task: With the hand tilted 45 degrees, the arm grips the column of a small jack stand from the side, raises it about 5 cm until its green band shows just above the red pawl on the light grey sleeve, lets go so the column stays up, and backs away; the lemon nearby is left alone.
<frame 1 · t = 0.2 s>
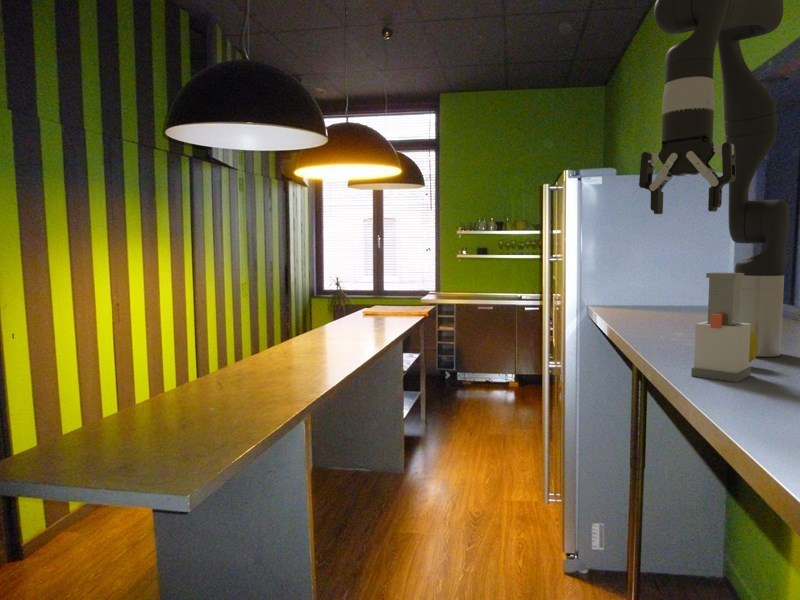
hand: (684, 212, 98), 29 cm above the worktop, tool pointing down, fingers open, 8 cm apart
column: (723, 319, 108), point 10 cm above the worktop, slide at 0.0 cm
lemon: (740, 367, 117), on the worktop
stand: (721, 375, 109), on the worktop
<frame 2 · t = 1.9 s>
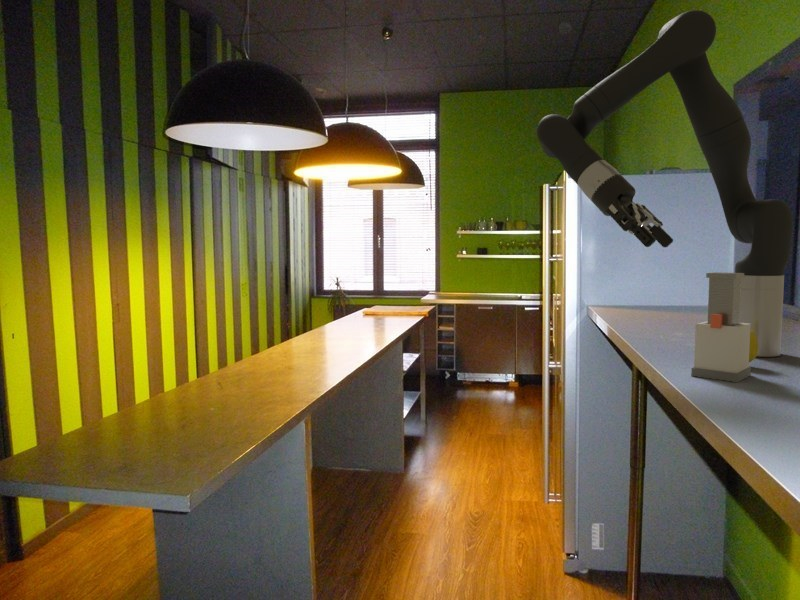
hand: (660, 244, 115), 24 cm above the worktop, tool tilted 45°, fingers open, 8 cm apart
nothing on the worktop moved.
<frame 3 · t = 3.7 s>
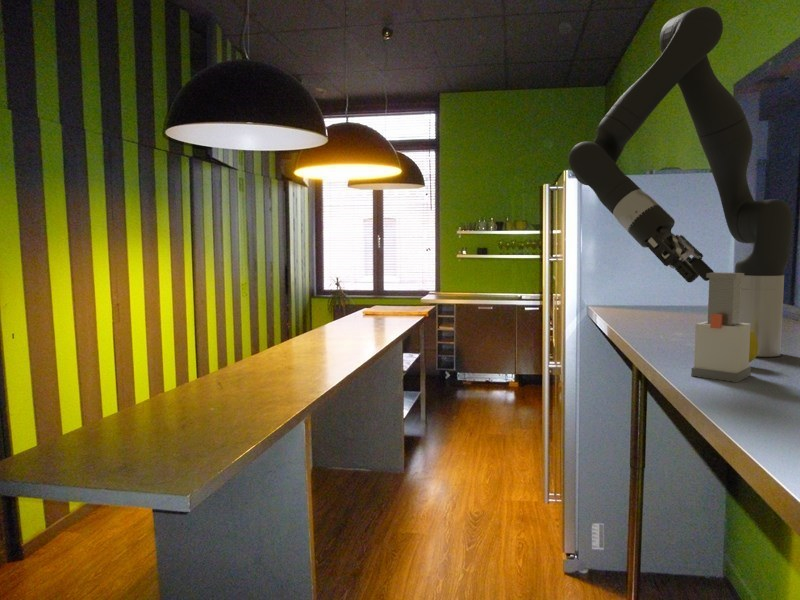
hand: (703, 278, 110), 17 cm above the worktop, tool tilted 45°, fingers open, 8 cm apart
nothing on the worktop moved.
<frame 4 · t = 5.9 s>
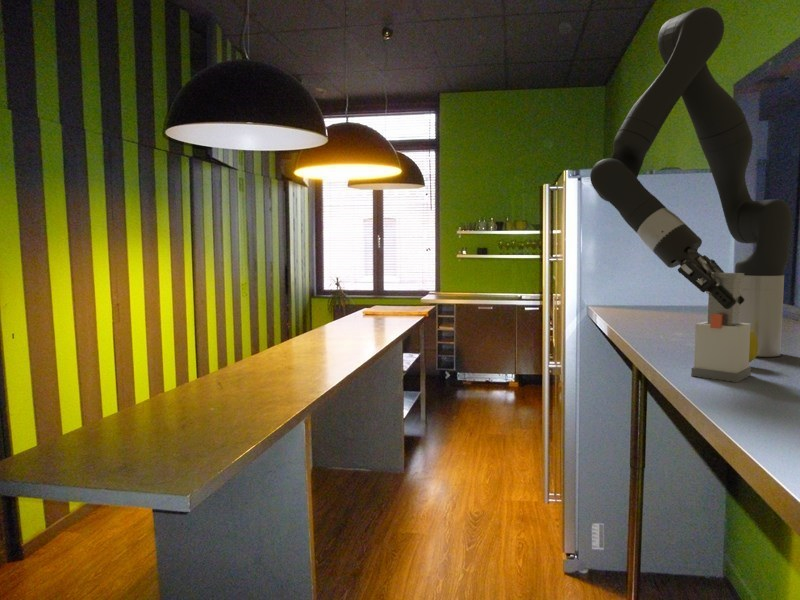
hand: (736, 304, 106), 13 cm above the worktop, tool tilted 45°, fingers closed on column, 4 cm apart
column: (723, 319, 108), point 10 cm above the worktop, slide at 0.0 cm, touching gripper
everything else where it was.
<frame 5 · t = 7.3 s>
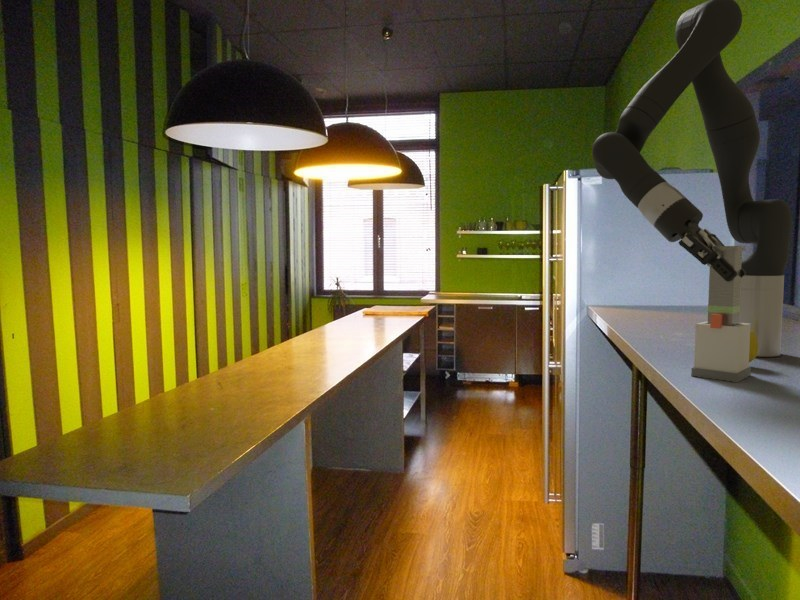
hand: (737, 277, 106), 18 cm above the worktop, tool tilted 45°, fingers closed on column, 4 cm apart
column: (724, 293, 108), point 15 cm above the worktop, slide at 4.8 cm, touching gripper
everything else where it was.
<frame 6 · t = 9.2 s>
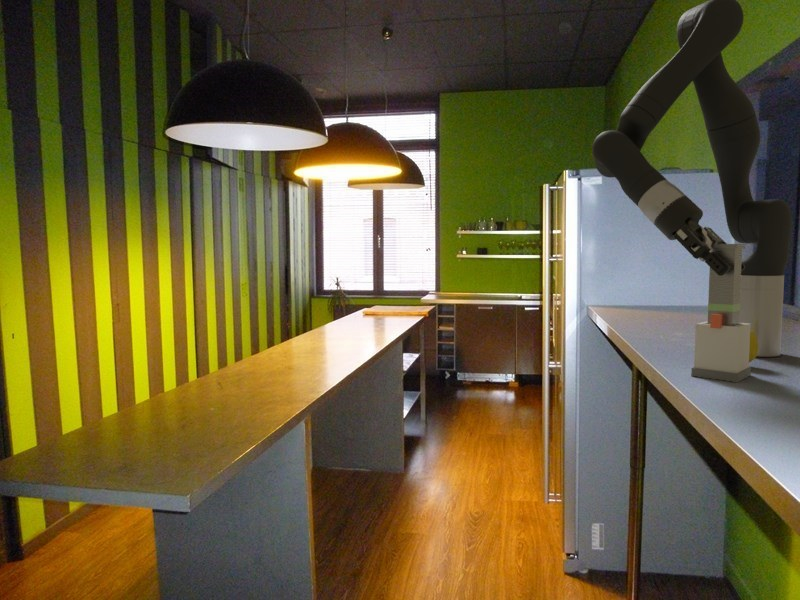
hand: (733, 271, 106), 19 cm above the worktop, tool tilted 45°, fingers open, 8 cm apart
column: (724, 291, 107), point 15 cm above the worktop, slide at 5.2 cm
everything else where it was.
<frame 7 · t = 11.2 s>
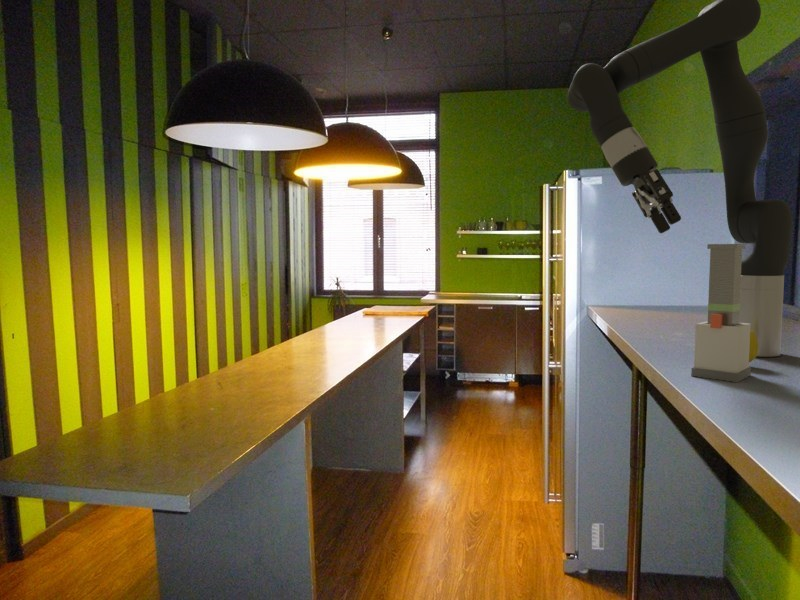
hand: (670, 227, 117), 27 cm above the worktop, tool tilted 30°, fingers open, 8 cm apart
nothing on the worktop moved.
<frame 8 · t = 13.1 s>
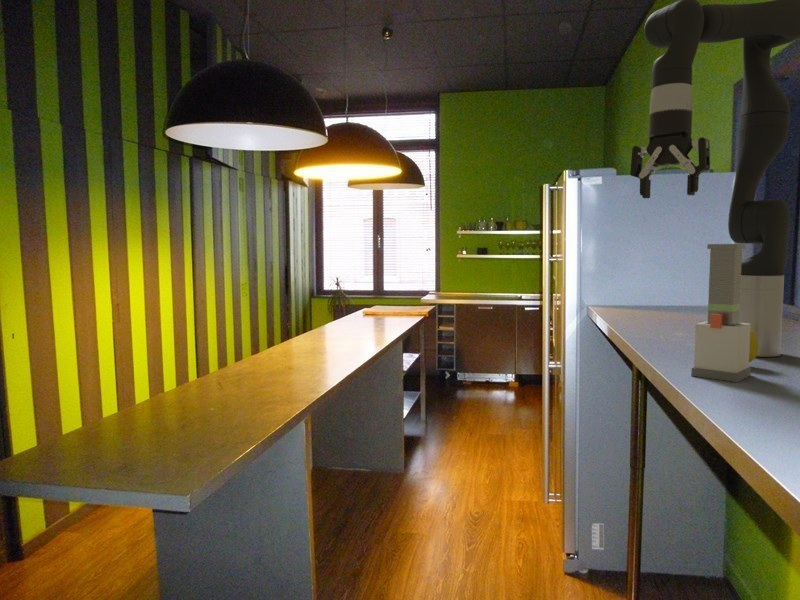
hand: (667, 196, 117), 33 cm above the worktop, tool pointing down, fingers open, 8 cm apart
nothing on the worktop moved.
at the end: column slide at 5.2 cm; the gripper is holding nothing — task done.
